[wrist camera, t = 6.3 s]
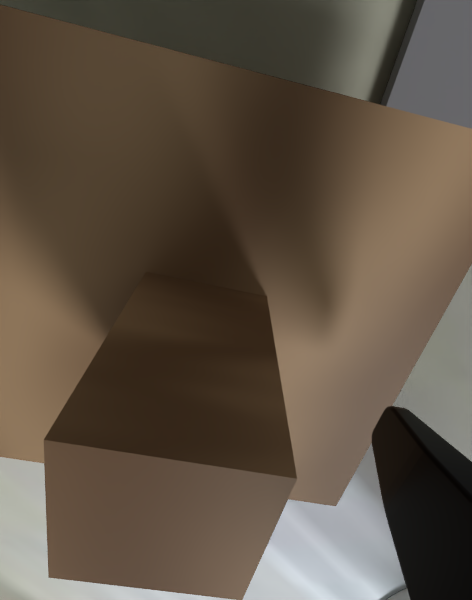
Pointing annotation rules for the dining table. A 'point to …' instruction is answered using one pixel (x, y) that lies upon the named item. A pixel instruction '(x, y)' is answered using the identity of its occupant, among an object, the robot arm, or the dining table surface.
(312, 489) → the lid
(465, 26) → the mat
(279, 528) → the dining table surface
